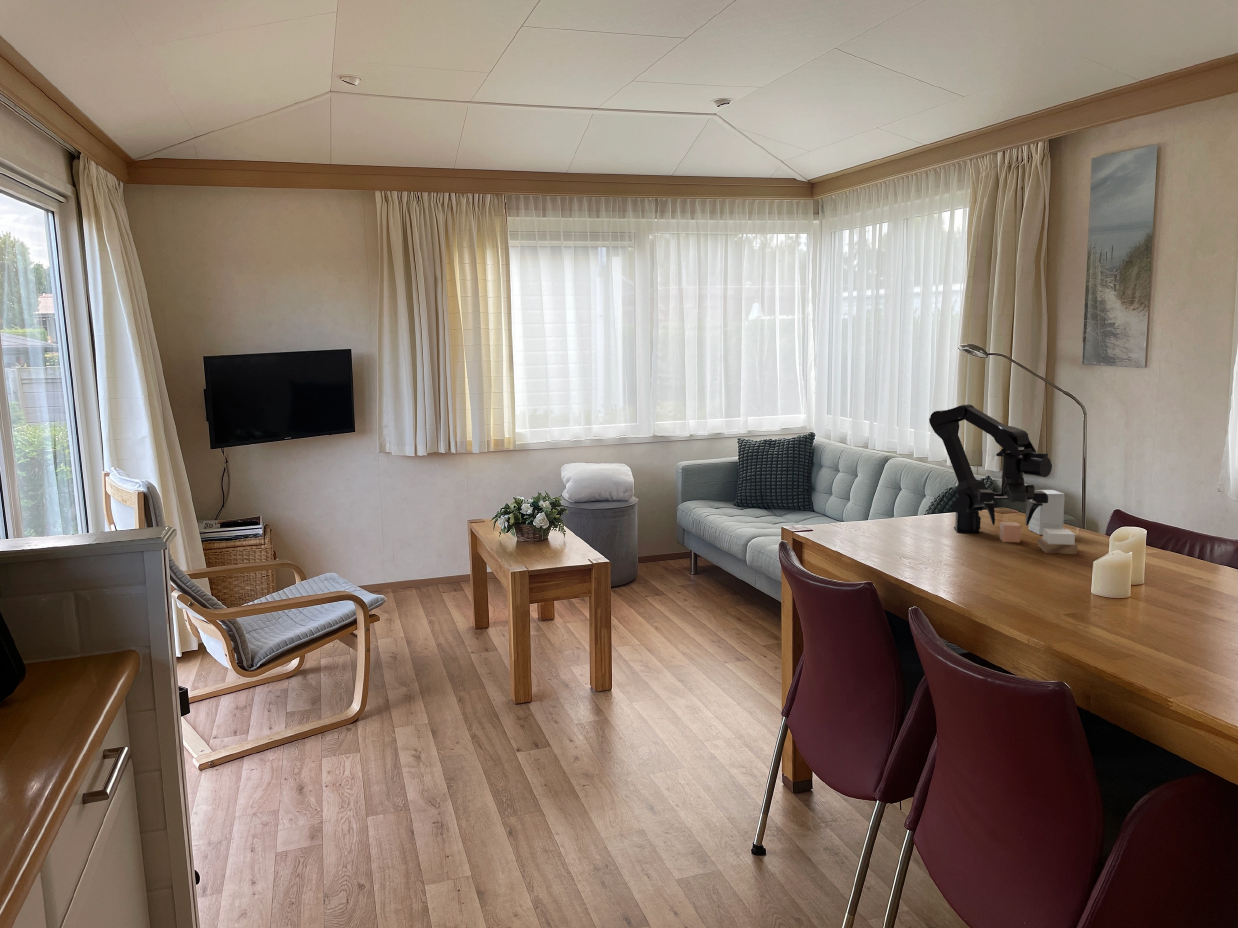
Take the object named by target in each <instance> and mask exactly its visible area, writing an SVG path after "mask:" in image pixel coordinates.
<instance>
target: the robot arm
mask: <svg viewBox="0 0 1238 928" xmlns="http://www.w3.org/2000/svg"><path fill="white" fill-rule="evenodd" d="M963 421H967V422H968V423H970V424H971V425H973V426H974V427H976V428H977V429H980V430H981V431H983V432H985V433H986V434H988V435H989V436H991V437H992V438H993V440H994V441H995V442H996V444H998V445H999V446H1000V447H1001V450H999V451H998V452H997V453H995V455H996V457H1000V458H1001V457H1002V467H1001V477H1000V478H1001V487H1000V492H994V491H993V490H991V489H987V486H986V482H985V481H984V480H978V479H977V478H976V477H975V475H974V473H973V470H972V467H971V465H970V462H969V459H968V456H967V453H966V451H965V449H964V446H963V444H962V441H961V438H960V435H959V434H960V433H959V430H960V426H961V425H960V422H963ZM928 422H929V425H930V426H931V428H932V431H933V433H935V434H936V435H937V437H938V438H940V439H941V441H942V444H943V445H944V448H945V451H946V452H947V455H948V458H949V461H950V464H951V466H952V470H953V472H954V474H955V477H956V480H957V490H956V494H957V497H958V498H957V499H956V500H954V501H953V502H952V503H951V505H950V508H951V512H952V513H955V519H954V520H955V522H954V526H953V529H954V530H955V532H957V533H967V534H970V533H971V534H973V533H975V534H980V530H981V520H982V519H981V516H980V512H983V511H984V507H986V509H987V512H988V515H989V518H990V522H991V524H992V525H993V526H995V524H996V516H995V514H996V513H995V505H996V503H995V502H994V501H995V500H1008V502H1010V503H1015V502H1017V503H1019V502H1020V503H1026V509H1025V510H1026V511H1025V520H1024V521H1025V526H1027V527H1029V522H1030V520H1031V518H1032V515H1033V513H1034V512H1035V510H1036V509H1037V508H1038V507H1039V506H1043V504H1042V503H1048V495H1047V494H1046V493H1045V492H1043V491H1035V490H1036V487H1035V485H1034V484H1026V485H1025V478H1024V476H1025V475H1026V476H1034V477H1038V478H1039V477H1041V478H1048V476H1049V475H1050V474H1051V472H1052V469H1053V465H1052V461H1051V459H1050V458H1049V453H1047V452H1037V450H1036V448H1035V447H1034V445H1033V443H1032V442H1031V440H1030V437H1029V433H1028V432H1027V431H1026V430H1024V429H1022V428H1018V427H1015V426H1011V425H1008V424H1005V423H1002V422H1000V421H998V420H996V419H995V418H993V417H991V416H990V415H988V414H986V413H984V411H981V410H980V409H977V408H976V407H975V406H974V405H973V404H969V403H968V404H960V405H958V406H955V407H952V408H949V409H943V410H935V411H933V412H932V413H931V415H930V416H929V418H928Z"/></svg>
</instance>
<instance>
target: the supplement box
mask: <svg viewBox="0 0 1238 928" xmlns="http://www.w3.org/2000/svg"><path fill="white" fill-rule="evenodd" d="M1035 491H1043V492H1045V493H1046V494H1047V495H1048V503H1042V504H1043V506H1039V507H1038V508H1037V509H1036V510H1035V512H1034V513H1033V515H1032V518H1031V520H1030V522H1029V524H1028V531H1031V532H1033V533H1034V534H1037V535H1041V536H1043V528H1047V529H1064V517H1065V515H1064V513H1065V498H1066V497H1065V495H1066V494H1065V493H1064V492H1060V491H1058V490H1055V489H1039V490H1037V489H1035Z"/></svg>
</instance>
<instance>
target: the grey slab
mask: <svg viewBox="0 0 1238 928" xmlns="http://www.w3.org/2000/svg"><path fill="white" fill-rule="evenodd" d="M1042 538H1043V540H1045V541H1046V542H1047V543H1048V544H1063V545H1075V544H1076V543H1075V542H1076V541H1075V540H1076V534H1075V533H1074V532H1073V531H1071V530H1070V529H1069V528H1063V529H1047V528H1043V535H1042Z"/></svg>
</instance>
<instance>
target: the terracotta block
mask: <svg viewBox="0 0 1238 928" xmlns="http://www.w3.org/2000/svg"><path fill="white" fill-rule="evenodd" d="M1021 529H1022V525H1021V524H1019V523H1018V522H1013V521H1012V522H1011V521H1009V522H1008V521H1007V522H1006V521H1000V522H999V539H1000V540H1001V542H1002V543H1021V534H1022V533H1021Z"/></svg>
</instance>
